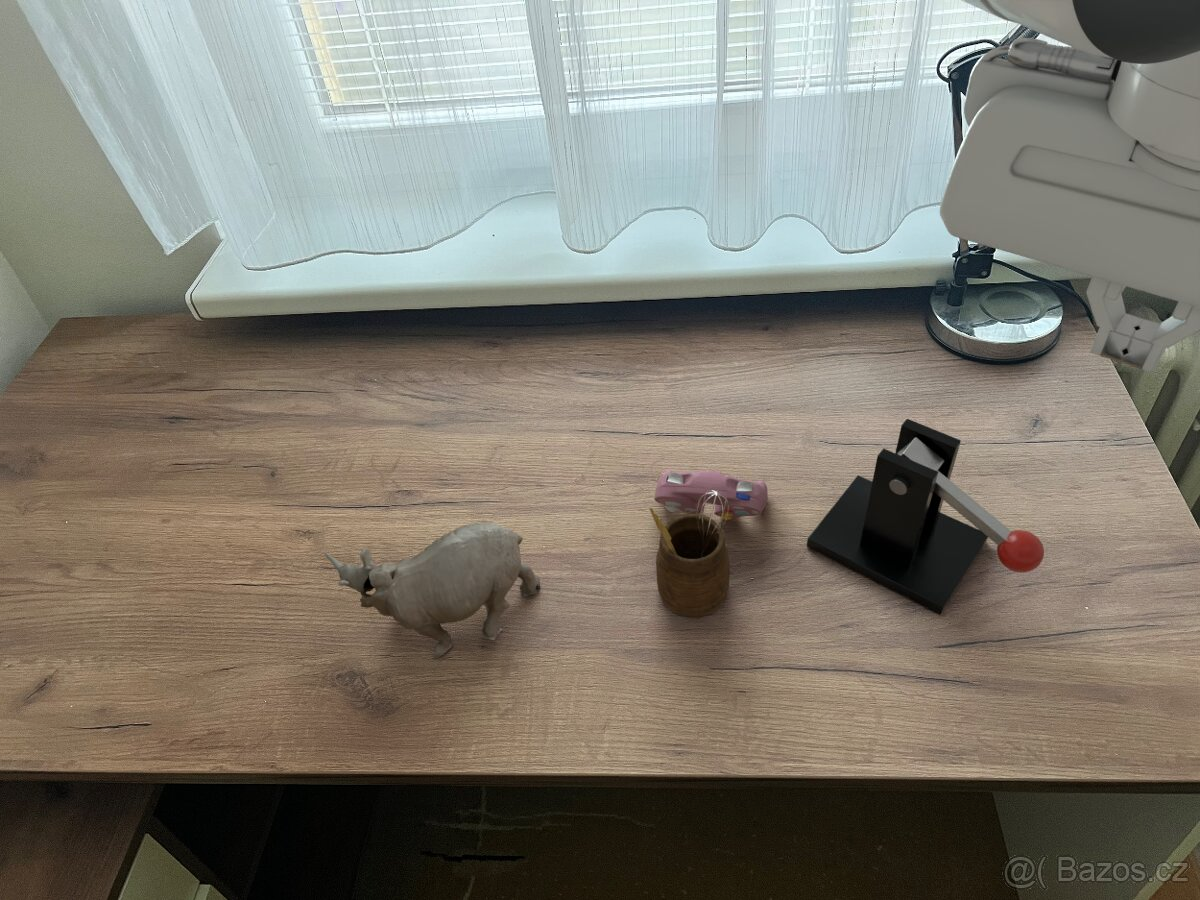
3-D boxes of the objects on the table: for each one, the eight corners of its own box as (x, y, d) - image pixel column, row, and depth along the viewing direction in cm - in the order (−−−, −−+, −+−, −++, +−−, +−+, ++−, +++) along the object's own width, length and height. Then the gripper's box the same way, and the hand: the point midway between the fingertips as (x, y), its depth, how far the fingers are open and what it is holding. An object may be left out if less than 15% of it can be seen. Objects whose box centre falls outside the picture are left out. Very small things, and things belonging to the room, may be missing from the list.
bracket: (986, 543, 74) (1021, 444, 66) (940, 615, 69) (972, 519, 61) (856, 483, 80) (873, 386, 72) (806, 547, 75) (819, 450, 67)
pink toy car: (656, 520, 81) (646, 501, 74) (663, 473, 82) (655, 450, 76) (764, 534, 79) (764, 515, 72) (770, 486, 80) (770, 463, 73)
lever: (1031, 559, 68) (1059, 543, 65) (1015, 587, 66) (1044, 571, 64) (899, 450, 70) (921, 430, 67) (880, 473, 68) (902, 454, 66)
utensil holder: (743, 598, 72) (749, 502, 64) (679, 634, 70) (676, 539, 62) (702, 551, 76) (703, 454, 67) (641, 583, 74) (633, 488, 66)
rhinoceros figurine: (575, 626, 68) (430, 532, 61) (455, 705, 73) (306, 627, 66) (568, 554, 75) (436, 460, 67) (457, 631, 79) (322, 552, 72)
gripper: (949, 55, 37) (898, 320, 47) (1593, 175, 27) (1356, 480, 37) (1007, 7, 40) (948, 263, 50) (1602, 97, 30) (1381, 396, 40)
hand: (1124, 356), depth 43 cm, fingers closed
